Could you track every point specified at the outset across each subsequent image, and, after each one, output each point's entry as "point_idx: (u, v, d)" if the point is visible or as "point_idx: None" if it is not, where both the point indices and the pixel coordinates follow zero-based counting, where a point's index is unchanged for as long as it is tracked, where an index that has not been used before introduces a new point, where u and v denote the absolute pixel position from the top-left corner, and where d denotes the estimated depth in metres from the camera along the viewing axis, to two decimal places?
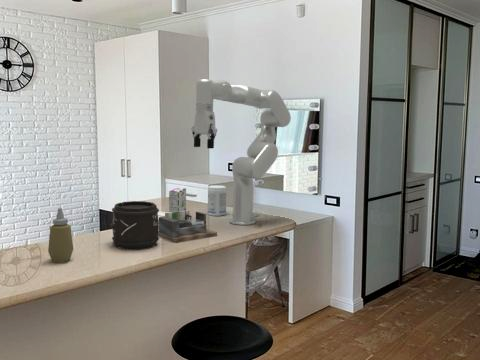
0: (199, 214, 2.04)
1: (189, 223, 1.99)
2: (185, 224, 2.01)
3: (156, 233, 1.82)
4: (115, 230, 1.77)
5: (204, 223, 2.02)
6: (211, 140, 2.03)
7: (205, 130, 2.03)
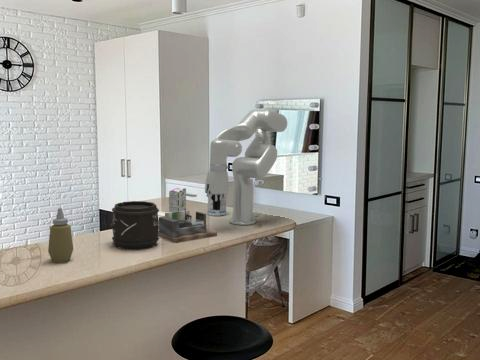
0: (199, 214, 2.04)
1: (189, 223, 1.99)
2: (185, 224, 2.01)
3: (156, 233, 1.82)
4: (115, 230, 1.77)
5: (204, 223, 2.02)
6: None
7: (226, 190, 2.09)
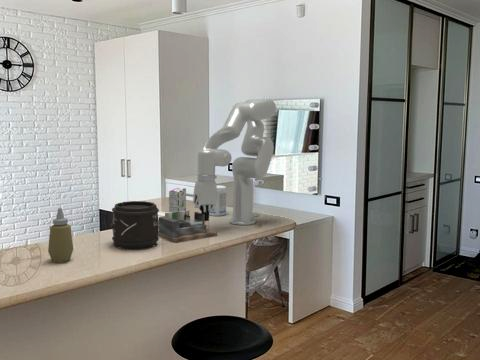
0: (198, 214, 2.03)
1: (188, 223, 1.99)
2: (184, 224, 2.01)
3: (156, 233, 1.82)
4: (115, 230, 1.77)
5: (203, 223, 2.01)
6: None
7: (215, 200, 2.05)
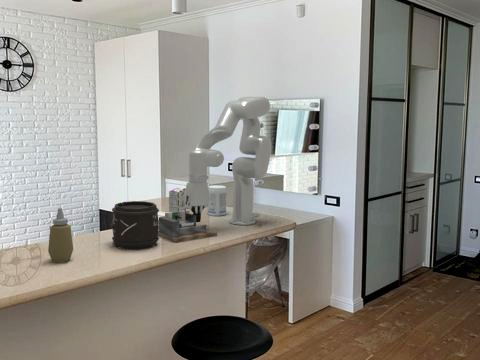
0: (189, 215, 2.00)
1: (179, 224, 1.96)
2: None
3: (156, 233, 1.82)
4: (115, 230, 1.77)
5: (194, 224, 1.98)
6: None
7: (207, 201, 2.02)
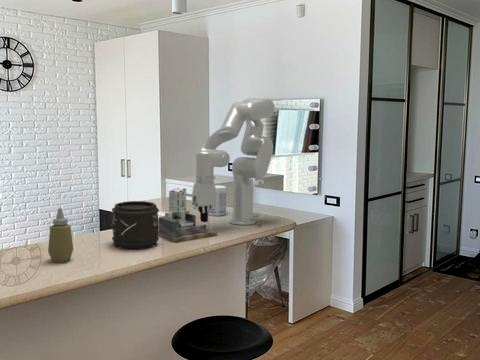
0: (189, 215, 2.00)
1: None
2: None
3: (156, 233, 1.82)
4: (115, 230, 1.77)
5: (194, 225, 1.98)
6: None
7: (214, 201, 2.05)
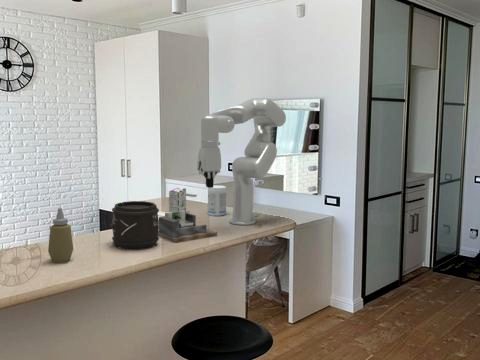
0: (189, 215, 2.00)
1: None
2: None
3: (156, 233, 1.82)
4: (115, 230, 1.77)
5: (194, 225, 1.98)
6: None
7: (219, 166, 2.05)
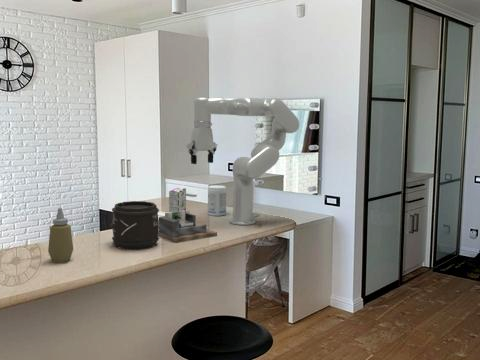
0: (189, 215, 2.00)
1: None
2: None
3: (156, 233, 1.82)
4: (115, 230, 1.77)
5: (194, 225, 1.98)
6: None
7: (211, 146, 2.15)
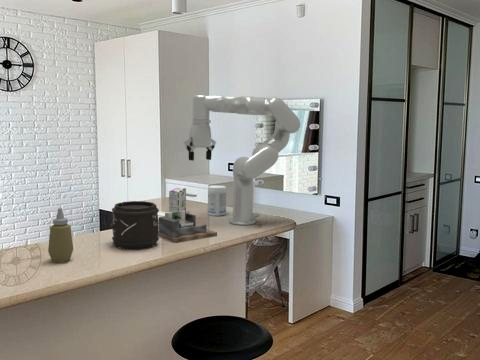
0: (189, 215, 2.00)
1: None
2: None
3: (156, 233, 1.82)
4: (115, 230, 1.77)
5: (194, 225, 1.98)
6: None
7: (209, 143, 2.17)
